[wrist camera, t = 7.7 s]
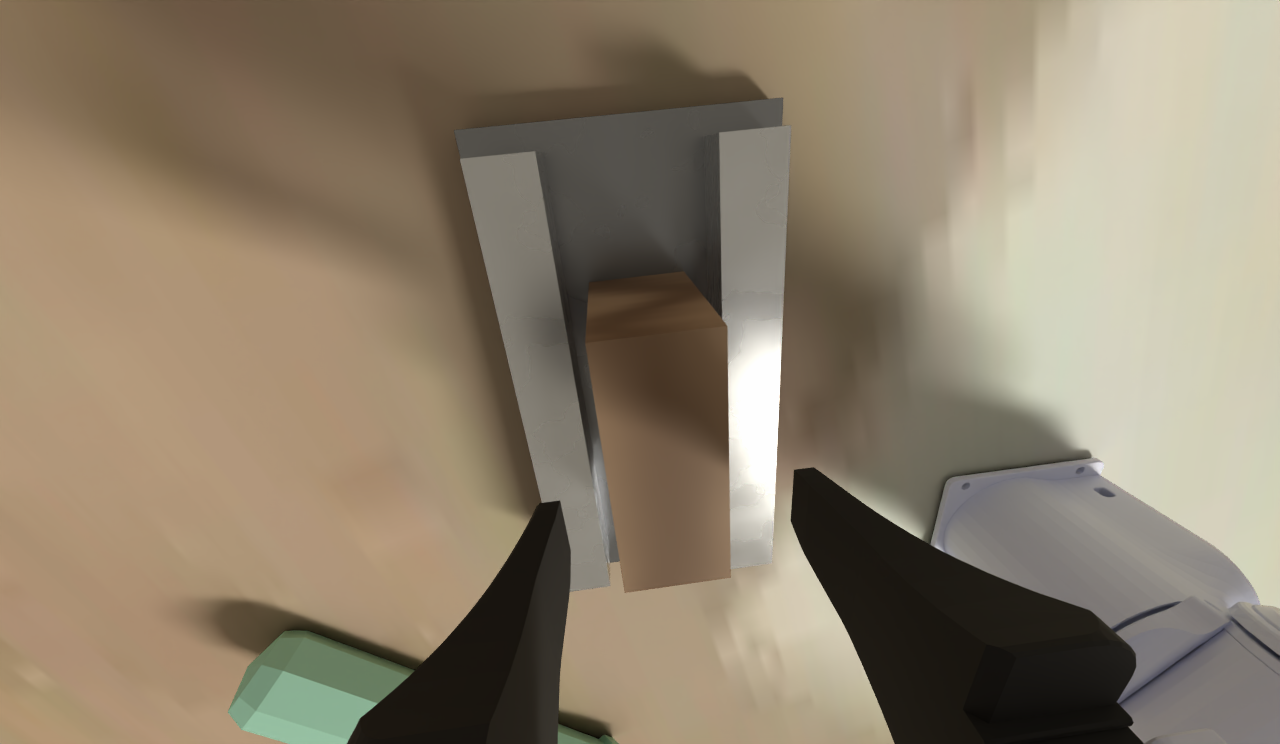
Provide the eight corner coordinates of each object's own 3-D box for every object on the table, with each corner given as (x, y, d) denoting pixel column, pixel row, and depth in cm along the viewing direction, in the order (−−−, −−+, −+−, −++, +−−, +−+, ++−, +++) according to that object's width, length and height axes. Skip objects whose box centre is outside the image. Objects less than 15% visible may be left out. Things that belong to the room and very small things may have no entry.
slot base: (771, 101, 18) (811, 87, 14) (760, 525, 27) (782, 575, 24) (462, 132, 17) (431, 125, 14) (559, 553, 27) (554, 607, 23)
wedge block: (683, 271, 19) (727, 325, 13) (694, 464, 23) (730, 577, 17) (589, 282, 19) (585, 343, 12) (617, 474, 23) (624, 592, 17)
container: (179, 761, 22) (586, 869, 30) (255, 655, 23) (636, 788, 31) (241, 674, 28) (572, 783, 36) (301, 590, 29) (614, 716, 36)
